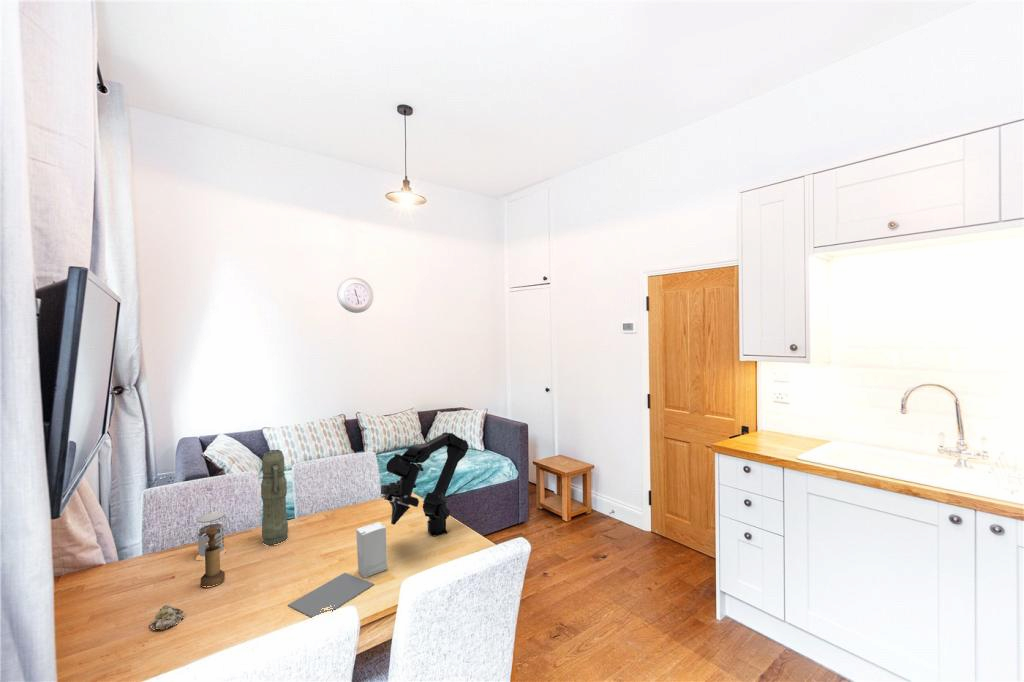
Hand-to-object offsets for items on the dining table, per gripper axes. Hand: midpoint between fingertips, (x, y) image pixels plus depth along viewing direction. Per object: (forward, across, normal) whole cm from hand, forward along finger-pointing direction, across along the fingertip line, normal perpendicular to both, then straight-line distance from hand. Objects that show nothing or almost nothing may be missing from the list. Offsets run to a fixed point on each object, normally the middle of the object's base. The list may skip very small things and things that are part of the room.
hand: (392, 524), depth 155 cm
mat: (+23, +7, -14) cm, 28 cm away
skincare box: (+16, +1, -2) cm, 16 cm away
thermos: (+17, -44, -26) cm, 54 cm away
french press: (+26, -48, -44) cm, 70 cm away
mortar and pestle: (+31, -24, -43) cm, 58 cm away
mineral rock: (+39, -9, -51) cm, 65 cm away
